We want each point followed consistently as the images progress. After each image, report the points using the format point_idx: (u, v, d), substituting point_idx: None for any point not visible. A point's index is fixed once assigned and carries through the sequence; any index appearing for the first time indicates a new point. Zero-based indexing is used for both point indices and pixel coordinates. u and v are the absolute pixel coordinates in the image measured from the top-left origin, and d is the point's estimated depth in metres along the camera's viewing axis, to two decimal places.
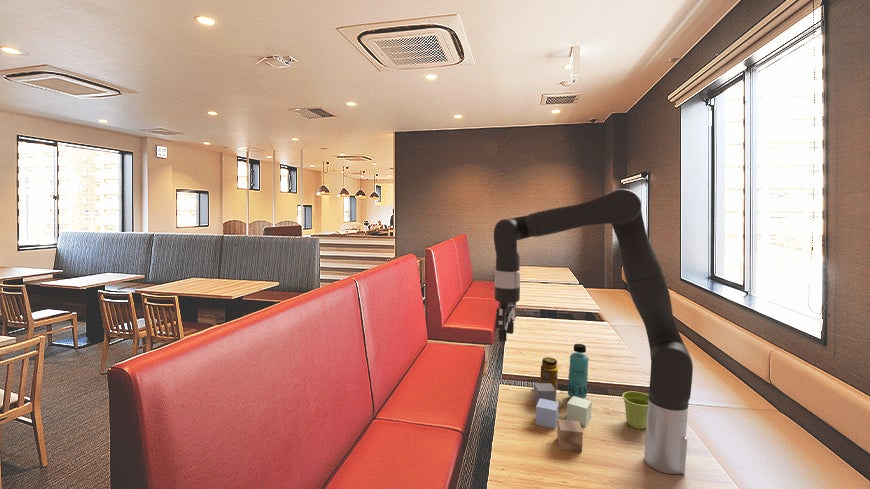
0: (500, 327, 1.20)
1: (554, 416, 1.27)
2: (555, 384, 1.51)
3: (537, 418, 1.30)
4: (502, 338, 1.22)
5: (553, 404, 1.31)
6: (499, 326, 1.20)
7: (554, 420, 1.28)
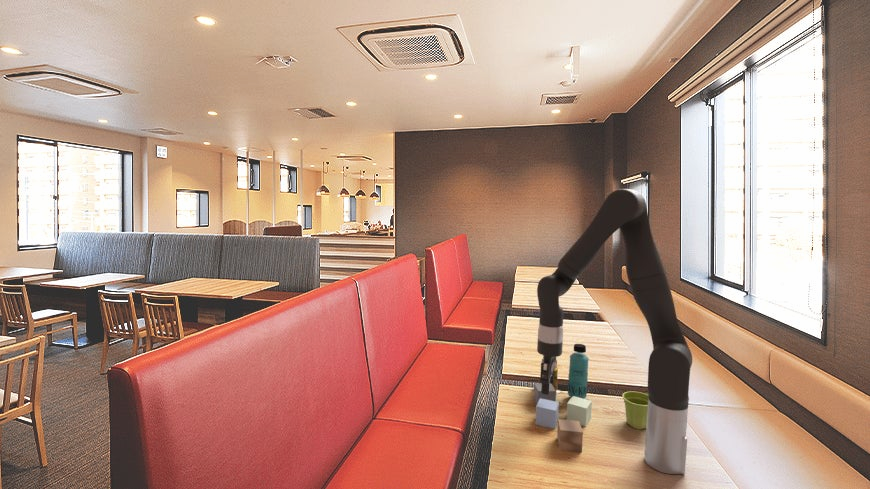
0: (544, 381, 1.24)
1: (554, 416, 1.27)
2: (555, 384, 1.51)
3: (537, 418, 1.30)
4: (545, 391, 1.26)
5: (552, 404, 1.31)
6: (543, 380, 1.24)
7: (554, 420, 1.28)
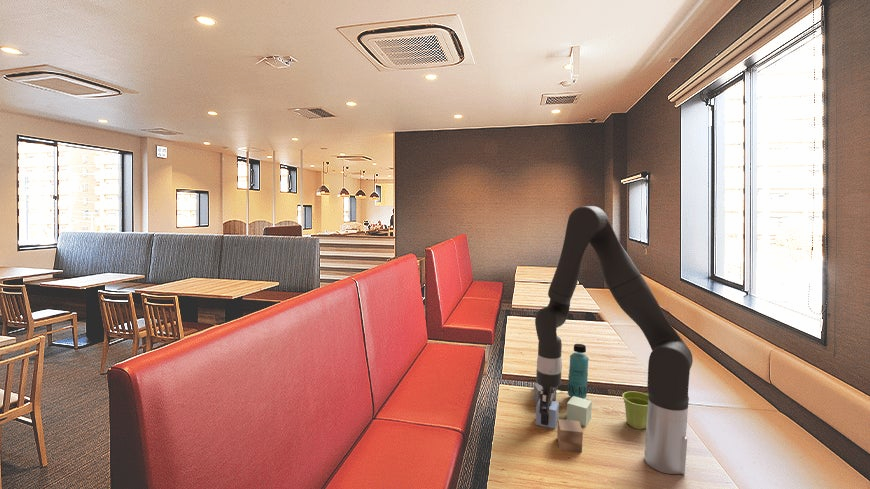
0: (543, 412, 1.25)
1: (554, 416, 1.27)
2: None
3: (537, 418, 1.30)
4: (544, 422, 1.27)
5: (553, 404, 1.31)
6: (542, 411, 1.25)
7: (554, 420, 1.28)
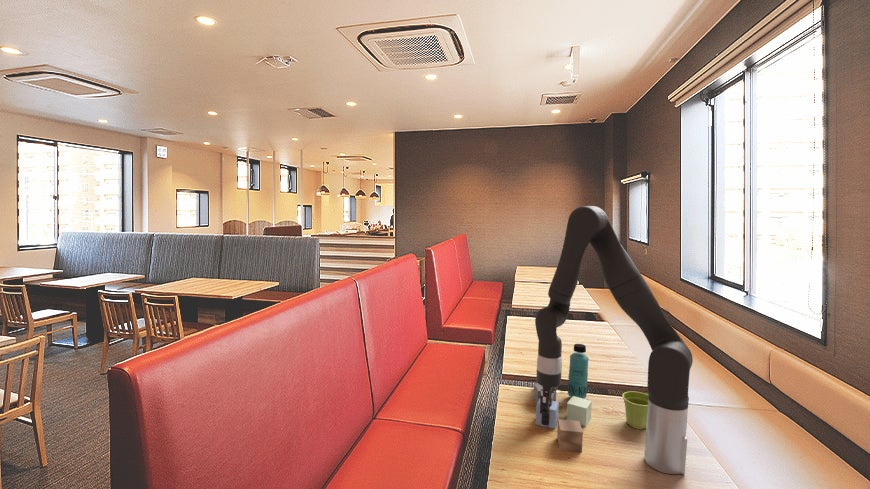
0: (544, 413, 1.26)
1: (554, 416, 1.27)
2: None
3: (537, 418, 1.30)
4: (545, 422, 1.28)
5: (553, 404, 1.31)
6: (543, 412, 1.26)
7: (554, 420, 1.28)
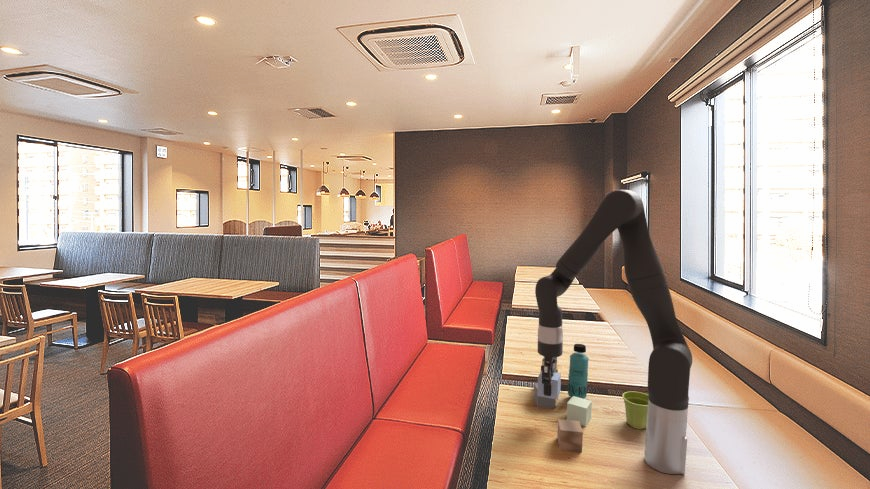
0: (546, 383, 1.25)
1: (556, 386, 1.26)
2: None
3: (539, 389, 1.29)
4: (547, 392, 1.26)
5: (554, 375, 1.30)
6: (545, 382, 1.25)
7: (556, 390, 1.26)
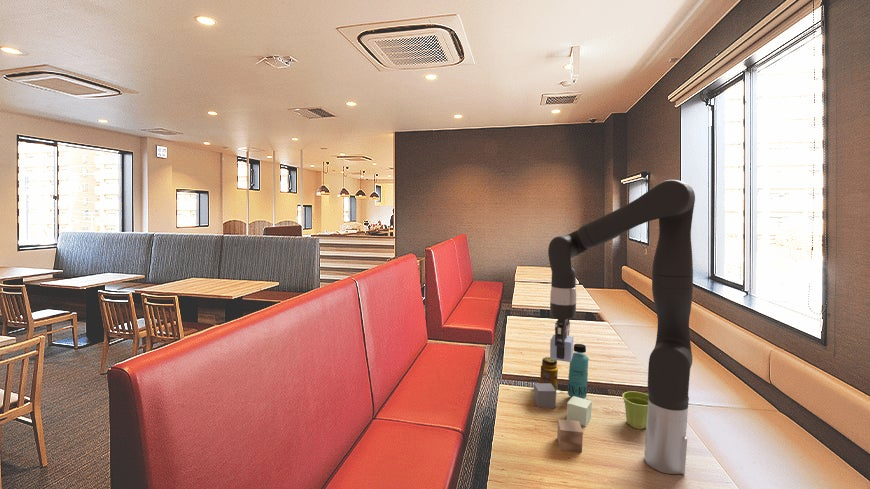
0: (559, 344, 1.22)
1: (569, 348, 1.24)
2: (555, 384, 1.51)
3: (552, 352, 1.26)
4: (560, 355, 1.24)
5: (567, 338, 1.27)
6: (558, 343, 1.22)
7: (569, 353, 1.24)
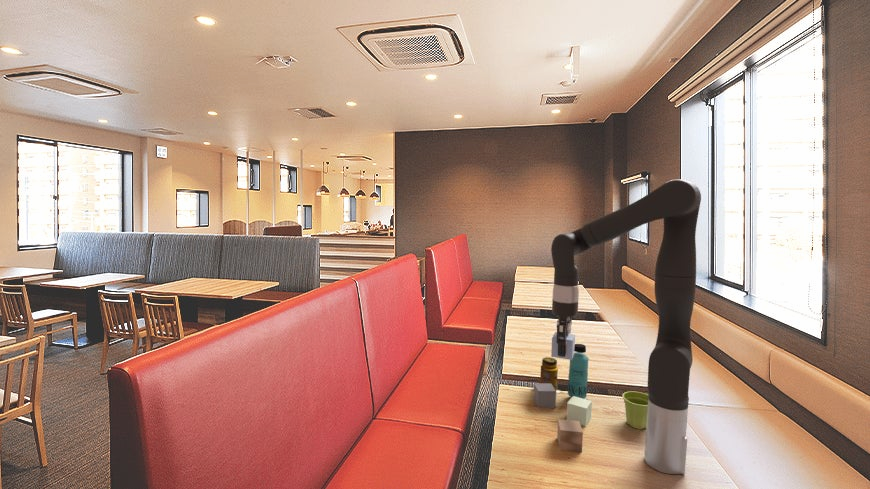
0: (561, 342, 1.22)
1: (571, 346, 1.23)
2: (555, 384, 1.51)
3: (553, 350, 1.26)
4: (562, 353, 1.24)
5: (569, 336, 1.27)
6: (560, 341, 1.22)
7: (571, 350, 1.24)
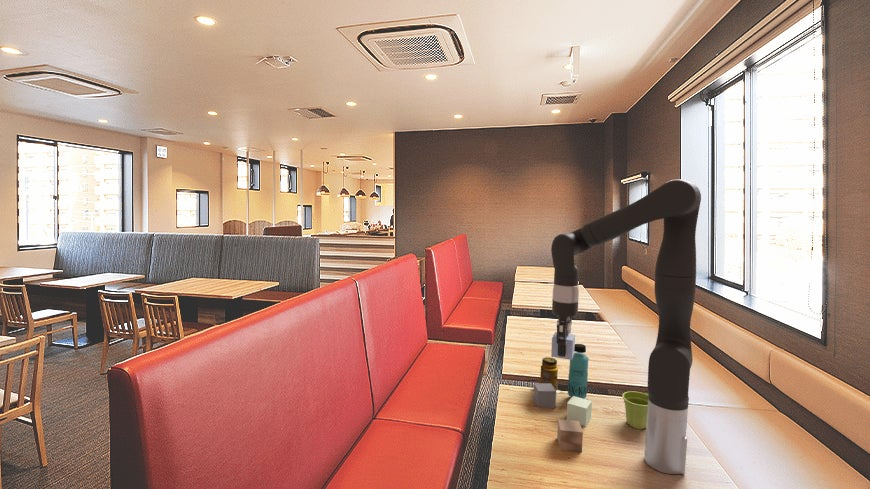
0: (561, 342, 1.22)
1: (571, 346, 1.23)
2: (555, 384, 1.51)
3: (553, 350, 1.26)
4: (562, 353, 1.24)
5: (569, 336, 1.27)
6: (560, 341, 1.22)
7: (571, 350, 1.24)
